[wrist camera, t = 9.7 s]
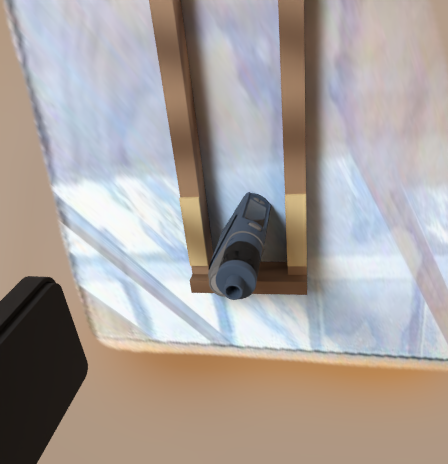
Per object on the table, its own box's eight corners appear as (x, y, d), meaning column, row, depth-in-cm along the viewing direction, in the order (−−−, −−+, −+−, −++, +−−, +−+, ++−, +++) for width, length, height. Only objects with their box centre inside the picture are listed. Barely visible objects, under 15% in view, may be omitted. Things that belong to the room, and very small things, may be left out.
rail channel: (151, -47, 26) (134, -55, 23) (303, -71, 24) (303, -82, 21) (199, 273, 37) (191, 292, 34) (306, 274, 35) (307, 294, 32)
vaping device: (277, 200, 32) (265, 287, 22) (245, 248, 35) (219, 347, 24) (249, 184, 32) (223, 264, 21) (218, 233, 34) (182, 327, 24)
